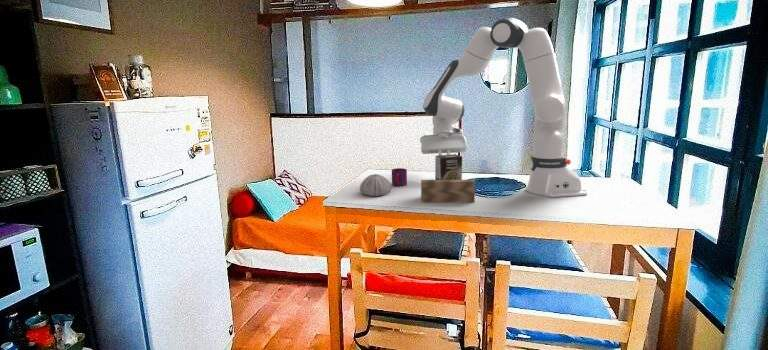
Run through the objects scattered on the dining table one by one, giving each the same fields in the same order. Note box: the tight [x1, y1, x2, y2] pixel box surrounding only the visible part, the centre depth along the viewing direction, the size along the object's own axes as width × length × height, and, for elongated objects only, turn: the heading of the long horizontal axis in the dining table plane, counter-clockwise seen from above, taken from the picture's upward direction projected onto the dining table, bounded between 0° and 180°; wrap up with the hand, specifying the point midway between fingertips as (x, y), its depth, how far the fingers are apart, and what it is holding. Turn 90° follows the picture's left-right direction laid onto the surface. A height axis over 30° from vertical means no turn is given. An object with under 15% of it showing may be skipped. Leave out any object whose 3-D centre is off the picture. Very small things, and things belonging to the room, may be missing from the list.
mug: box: [391, 167, 408, 187], centre depth 176 cm, size 7×10×7 cm
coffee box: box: [434, 153, 463, 180], centre depth 159 cm, size 9×6×16 cm
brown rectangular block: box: [420, 179, 476, 203], centre depth 153 cm, size 20×5×8 cm, turn 85°
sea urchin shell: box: [359, 173, 392, 197], centre depth 165 cm, size 13×14×8 cm
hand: (444, 159), depth 173 cm, fingers closed
